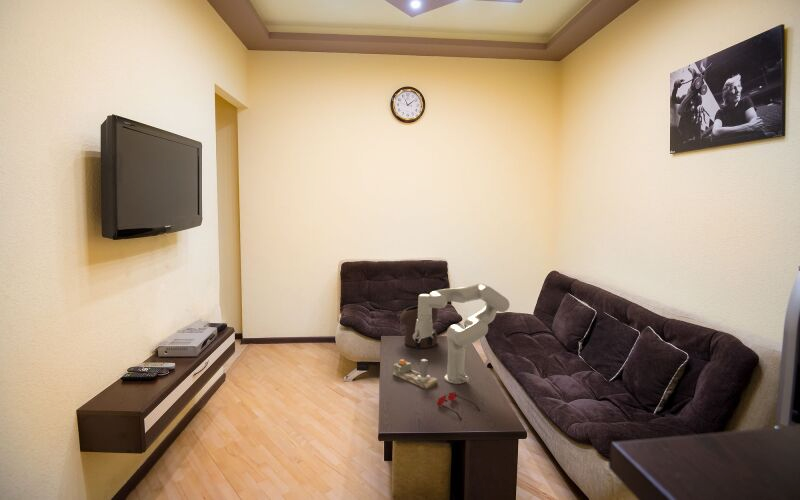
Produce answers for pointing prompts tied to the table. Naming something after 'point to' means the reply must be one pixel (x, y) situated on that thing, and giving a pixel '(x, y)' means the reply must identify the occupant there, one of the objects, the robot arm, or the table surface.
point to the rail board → (412, 375)
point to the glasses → (451, 397)
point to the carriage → (423, 370)
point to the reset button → (402, 362)
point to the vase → (410, 320)
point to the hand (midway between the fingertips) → (423, 347)
